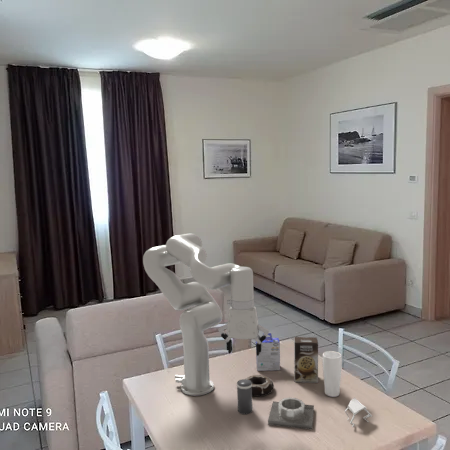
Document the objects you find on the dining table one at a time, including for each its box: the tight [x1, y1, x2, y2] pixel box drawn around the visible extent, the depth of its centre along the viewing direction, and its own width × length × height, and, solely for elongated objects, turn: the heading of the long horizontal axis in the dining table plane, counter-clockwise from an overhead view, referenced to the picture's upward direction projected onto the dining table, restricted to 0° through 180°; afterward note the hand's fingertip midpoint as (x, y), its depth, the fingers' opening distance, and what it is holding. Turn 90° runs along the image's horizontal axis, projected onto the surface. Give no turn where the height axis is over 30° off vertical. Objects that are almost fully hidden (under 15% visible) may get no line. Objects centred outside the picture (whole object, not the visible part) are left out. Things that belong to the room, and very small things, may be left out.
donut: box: [245, 374, 275, 397], centre depth 162 cm, size 12×12×4 cm
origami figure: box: [344, 397, 373, 428], centre depth 141 cm, size 12×8×5 cm
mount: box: [267, 396, 315, 430], centre depth 143 cm, size 14×12×4 cm
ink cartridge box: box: [255, 332, 281, 372], centre depth 179 cm, size 10×6×14 cm, turn 89°
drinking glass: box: [321, 350, 343, 398], centre depth 157 cm, size 7×7×15 cm
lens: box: [236, 378, 253, 415], centre depth 148 cm, size 5×5×10 cm
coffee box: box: [293, 336, 319, 384], centre depth 169 cm, size 9×6×16 cm
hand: (244, 353), depth 146 cm, fingers open, 9 cm apart
